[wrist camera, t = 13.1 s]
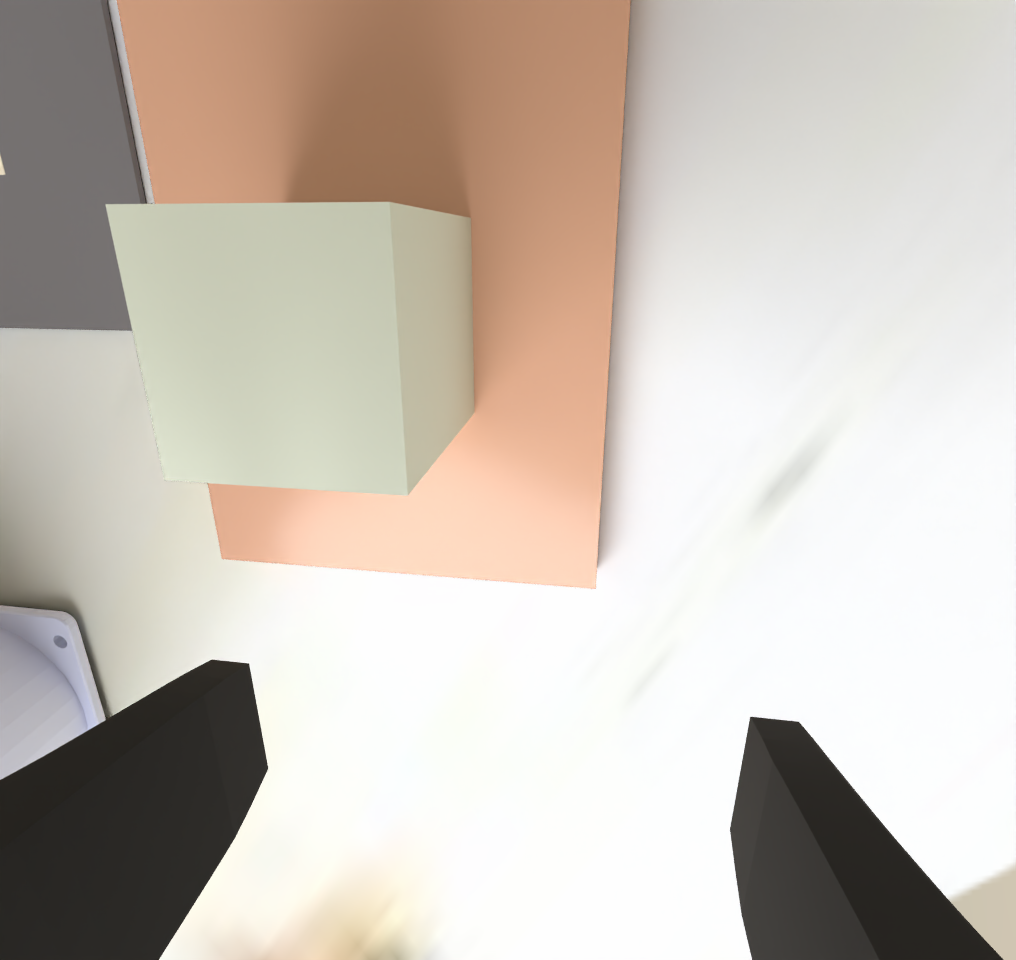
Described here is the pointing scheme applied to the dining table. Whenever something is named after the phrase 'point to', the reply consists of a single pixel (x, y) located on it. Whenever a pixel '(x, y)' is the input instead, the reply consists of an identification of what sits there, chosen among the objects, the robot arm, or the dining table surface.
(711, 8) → the dining table surface
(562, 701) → the dining table surface
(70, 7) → the mat
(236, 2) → the plate
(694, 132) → the dining table surface
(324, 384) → the sage block
